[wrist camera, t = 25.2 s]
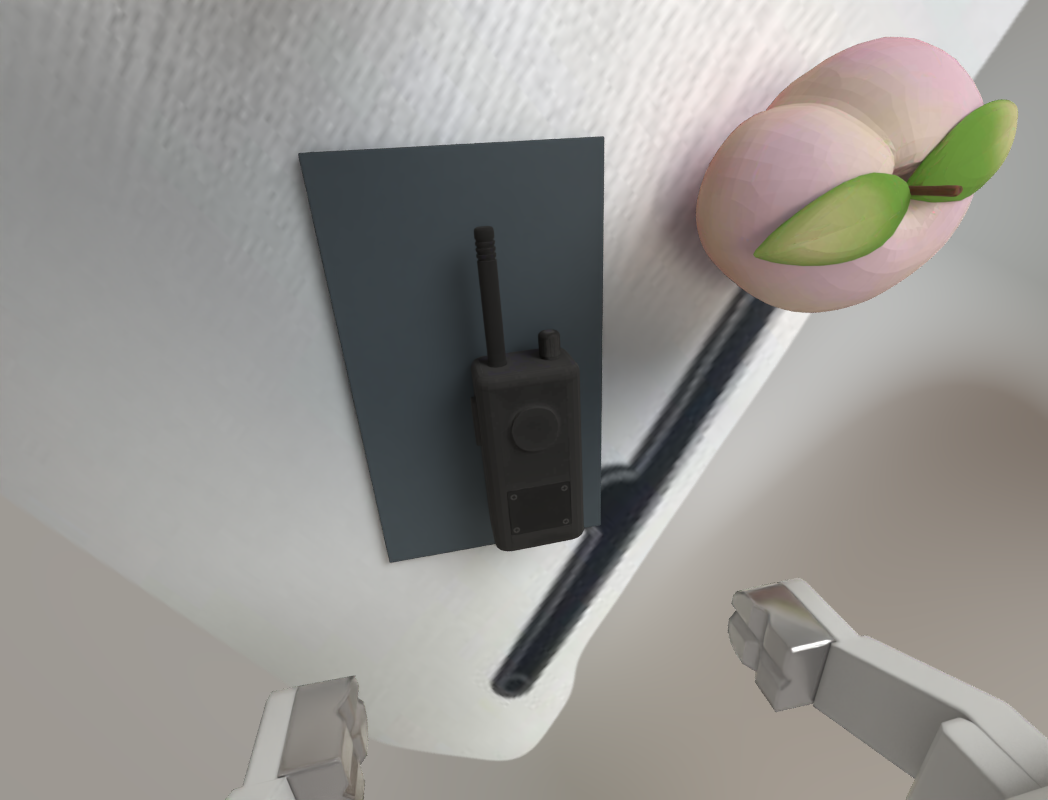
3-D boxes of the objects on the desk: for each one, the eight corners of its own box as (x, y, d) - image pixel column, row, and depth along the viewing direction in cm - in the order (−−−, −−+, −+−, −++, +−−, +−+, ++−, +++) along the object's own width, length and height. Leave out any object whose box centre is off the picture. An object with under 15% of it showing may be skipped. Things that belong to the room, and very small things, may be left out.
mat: (597, 520, 29) (600, 525, 29) (390, 557, 27) (389, 563, 27) (600, 137, 21) (604, 136, 20) (300, 153, 19) (297, 152, 18)
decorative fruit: (701, 320, 25) (859, 401, 16) (622, 178, 22) (768, 181, 13) (860, 201, 24) (1121, 217, 15) (805, 31, 21) (1103, -78, 12)
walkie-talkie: (570, 501, 28) (558, 215, 21) (589, 541, 25) (582, 222, 18) (484, 516, 27) (446, 226, 20) (493, 560, 24) (451, 235, 17)
